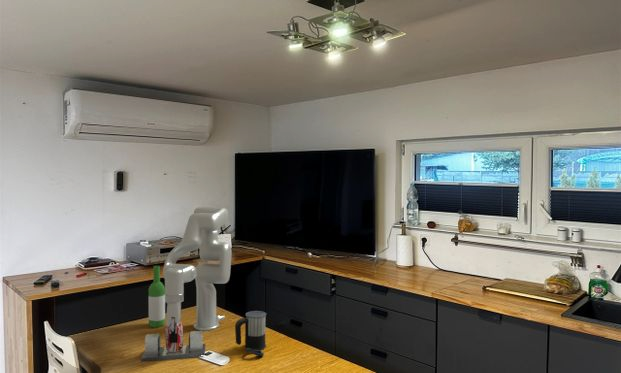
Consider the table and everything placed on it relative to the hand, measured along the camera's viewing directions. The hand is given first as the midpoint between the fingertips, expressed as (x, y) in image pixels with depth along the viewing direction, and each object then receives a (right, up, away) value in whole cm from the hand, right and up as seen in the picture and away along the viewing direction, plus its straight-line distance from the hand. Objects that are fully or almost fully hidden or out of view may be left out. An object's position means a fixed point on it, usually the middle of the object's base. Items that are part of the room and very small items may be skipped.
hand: (174, 338), depth 180 cm
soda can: (0, -5, 0) cm, 5 cm away
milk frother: (+34, -7, +4) cm, 35 cm away
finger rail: (0, -7, 0) cm, 7 cm away
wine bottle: (-20, -6, +35) cm, 40 cm away
